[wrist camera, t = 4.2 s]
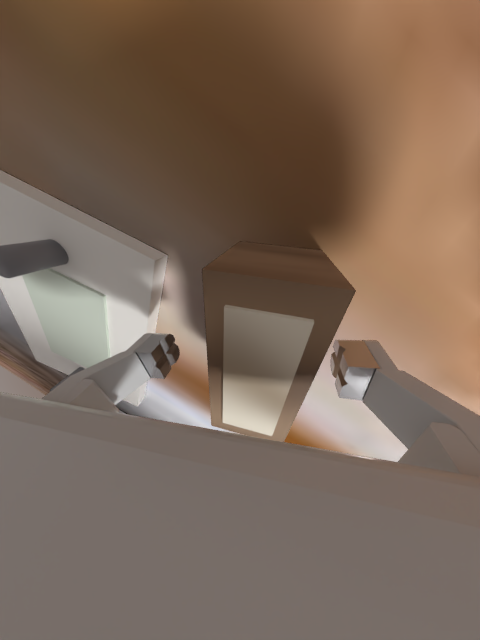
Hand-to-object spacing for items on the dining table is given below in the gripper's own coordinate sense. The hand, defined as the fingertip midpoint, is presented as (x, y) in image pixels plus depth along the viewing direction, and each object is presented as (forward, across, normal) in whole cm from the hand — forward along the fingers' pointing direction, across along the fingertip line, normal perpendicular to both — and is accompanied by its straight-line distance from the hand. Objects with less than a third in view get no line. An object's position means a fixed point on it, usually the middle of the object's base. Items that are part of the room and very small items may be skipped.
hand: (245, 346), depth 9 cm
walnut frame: (+3, -1, 0) cm, 3 cm away
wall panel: (+3, +14, 0) cm, 15 cm away
